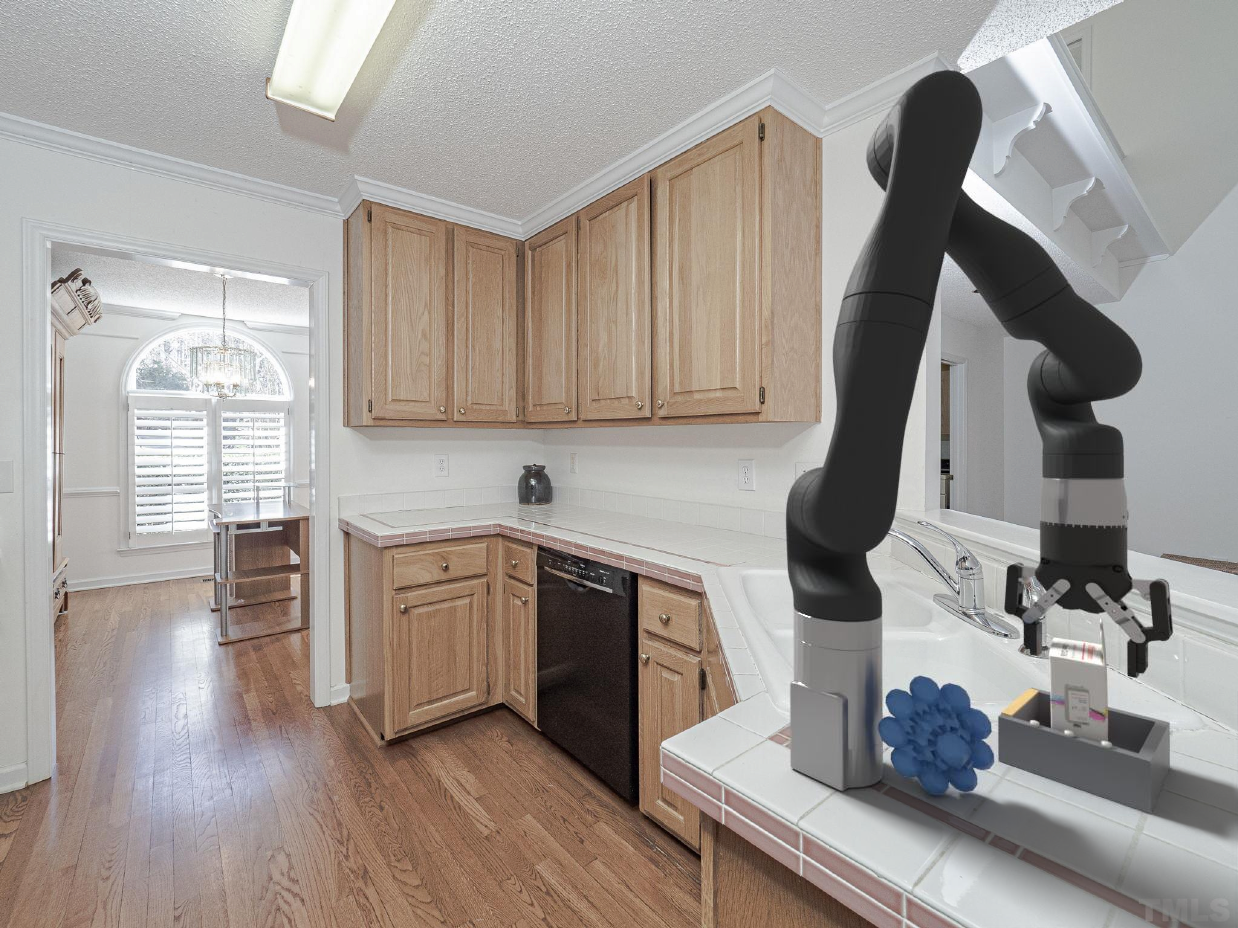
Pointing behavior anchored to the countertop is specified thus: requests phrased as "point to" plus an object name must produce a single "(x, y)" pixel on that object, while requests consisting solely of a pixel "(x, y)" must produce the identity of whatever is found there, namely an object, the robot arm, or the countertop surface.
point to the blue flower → (936, 736)
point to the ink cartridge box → (1079, 687)
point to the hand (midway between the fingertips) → (1082, 664)
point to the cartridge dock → (1088, 751)
